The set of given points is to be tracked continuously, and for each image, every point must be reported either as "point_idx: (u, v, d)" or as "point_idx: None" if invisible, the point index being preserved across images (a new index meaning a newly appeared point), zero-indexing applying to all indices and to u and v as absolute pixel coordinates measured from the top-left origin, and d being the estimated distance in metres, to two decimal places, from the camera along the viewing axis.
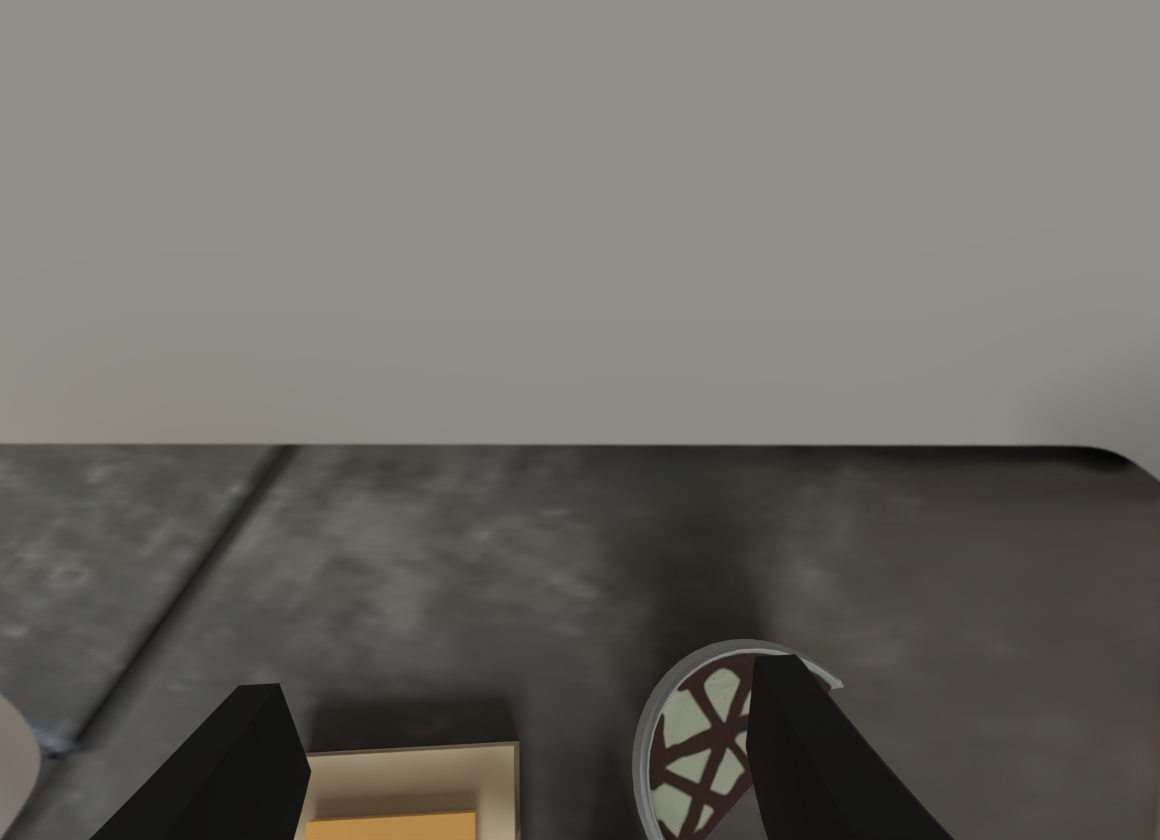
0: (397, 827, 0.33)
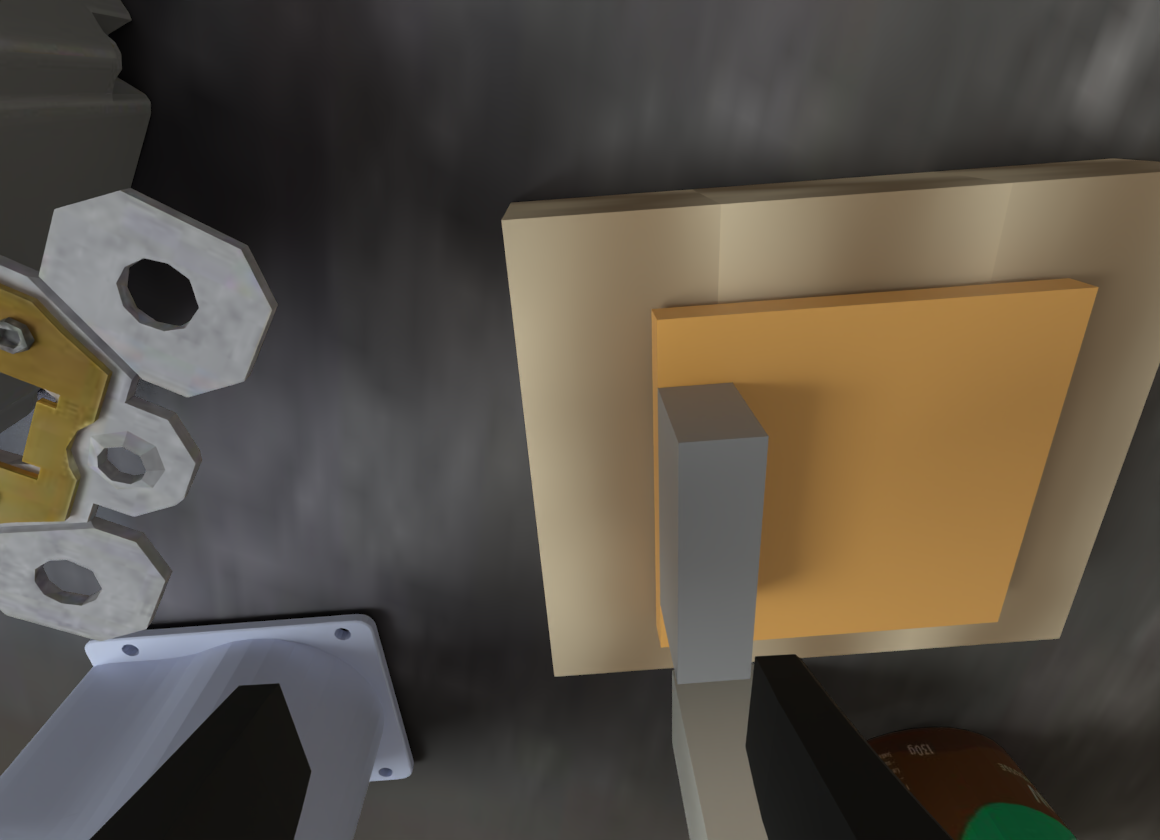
0: (1016, 492, 0.15)
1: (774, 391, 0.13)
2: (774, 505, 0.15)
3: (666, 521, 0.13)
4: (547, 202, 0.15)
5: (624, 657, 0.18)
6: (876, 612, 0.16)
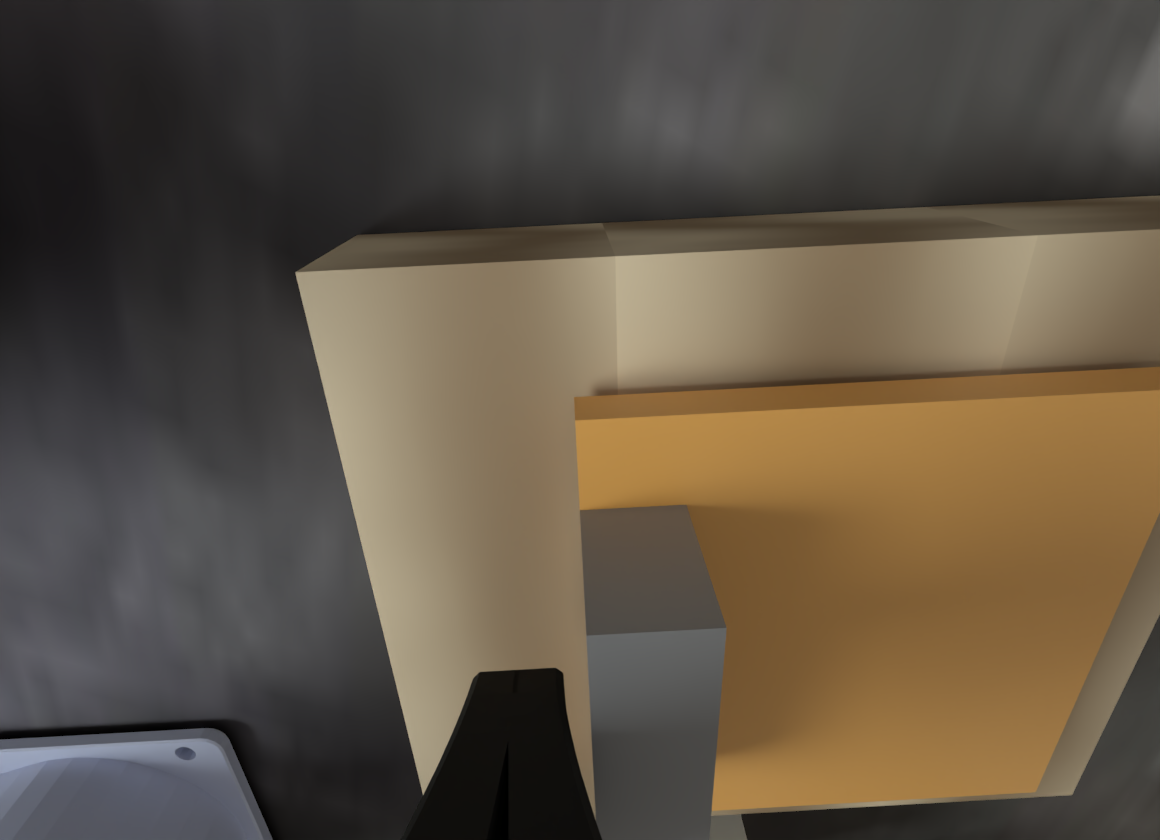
0: (1073, 645, 0.11)
1: (746, 516, 0.09)
2: (745, 657, 0.11)
3: (589, 697, 0.09)
4: (400, 237, 0.11)
5: None
6: (879, 781, 0.12)
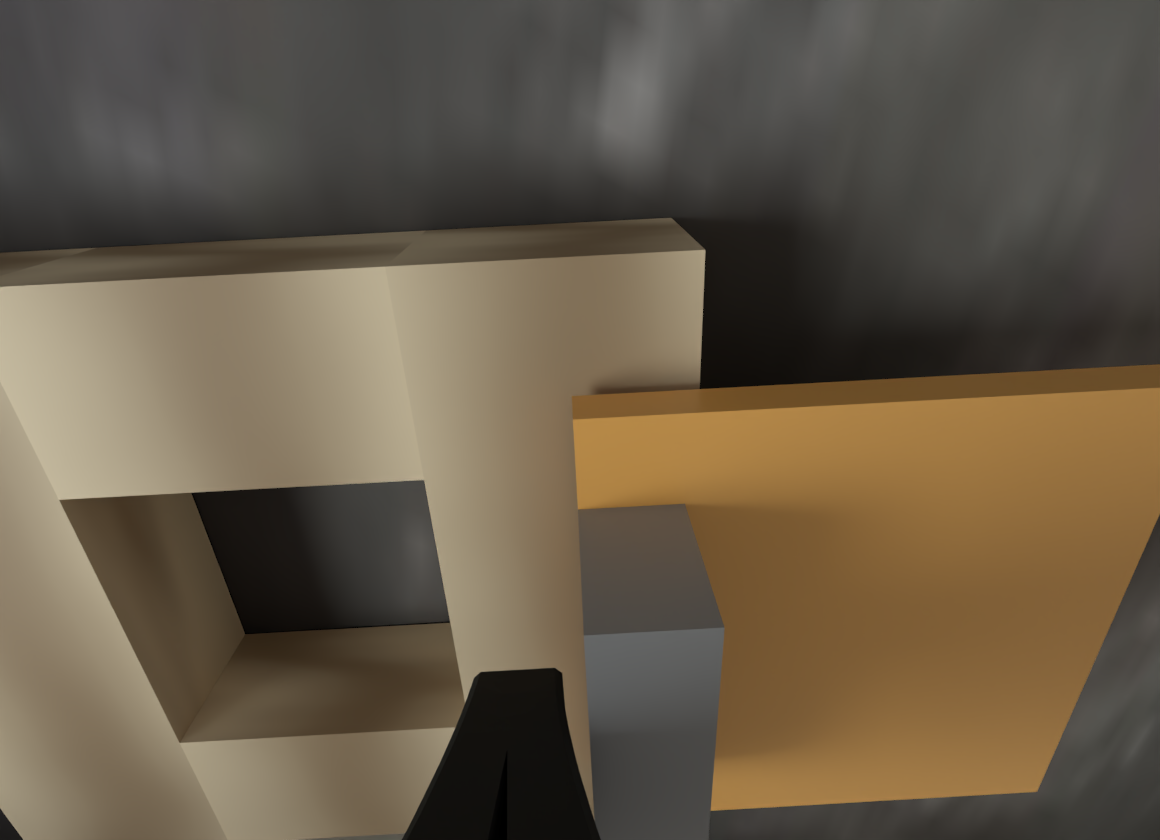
0: (1074, 644, 0.11)
1: (744, 515, 0.09)
2: (745, 655, 0.11)
3: None
4: None
5: (115, 835, 0.14)
6: (879, 780, 0.12)
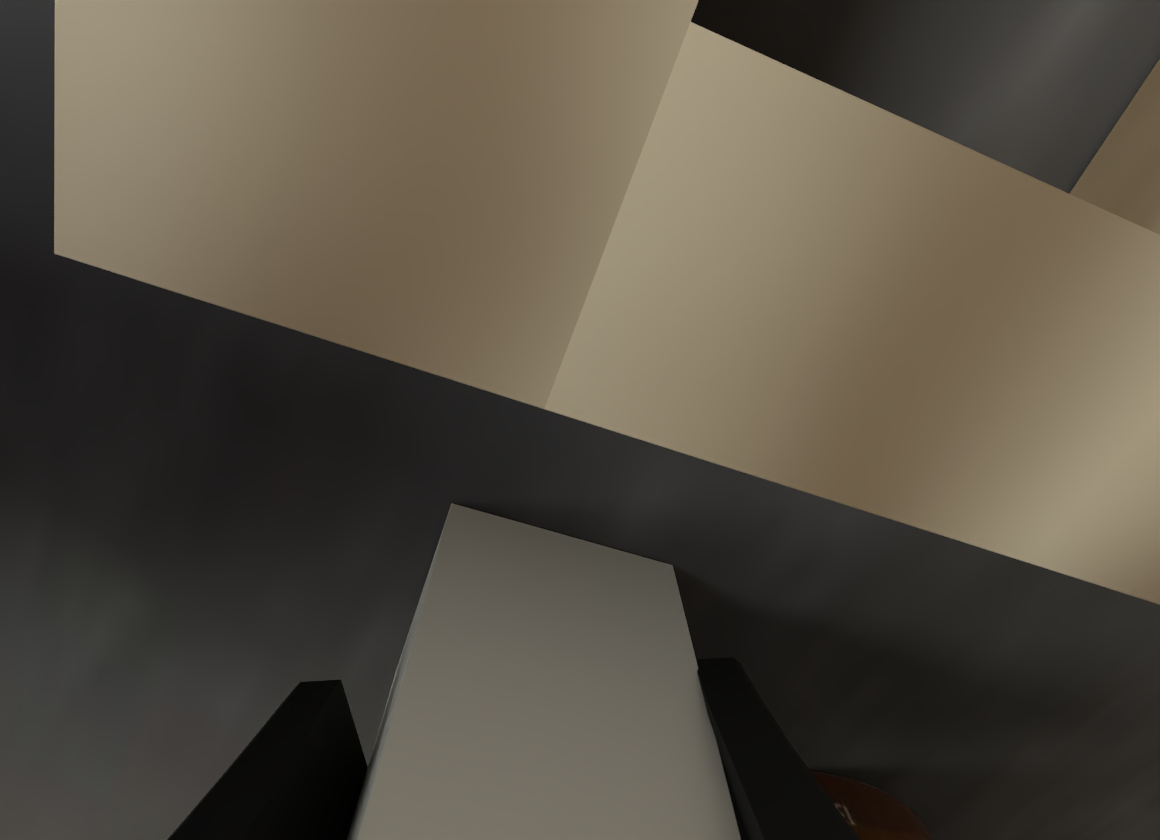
0: None
1: None
2: None
3: None
4: None
5: (307, 275, 0.06)
6: None
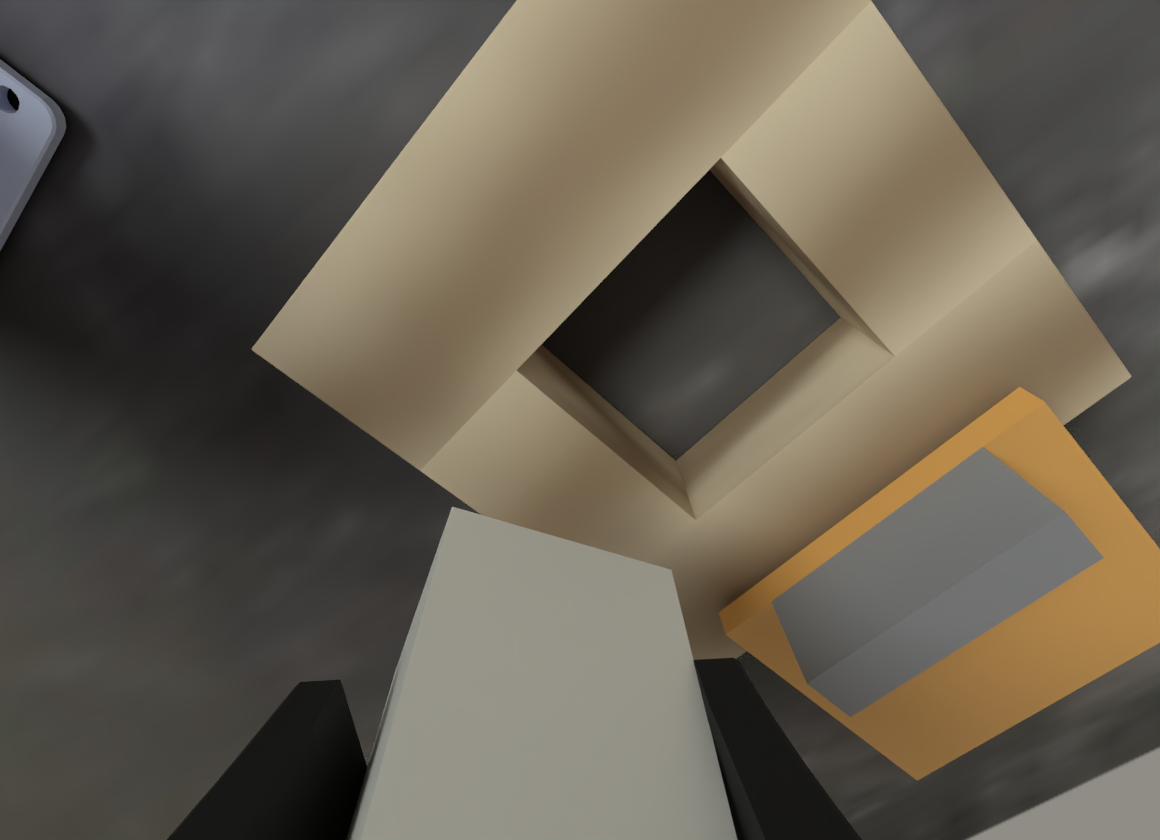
0: (1031, 702, 0.18)
1: None
2: None
3: (907, 549, 0.14)
4: None
5: (347, 392, 0.14)
6: (872, 720, 0.18)
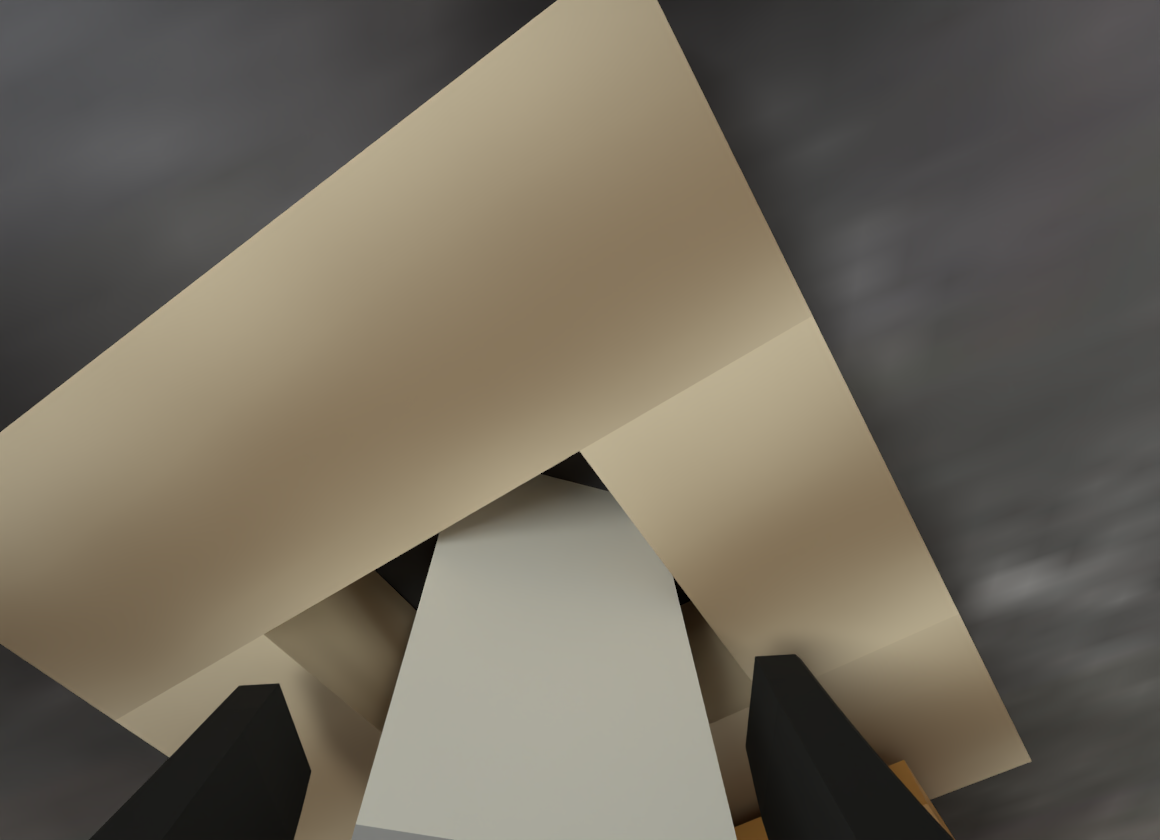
0: None
1: None
2: None
3: None
4: None
5: (9, 619, 0.10)
6: None
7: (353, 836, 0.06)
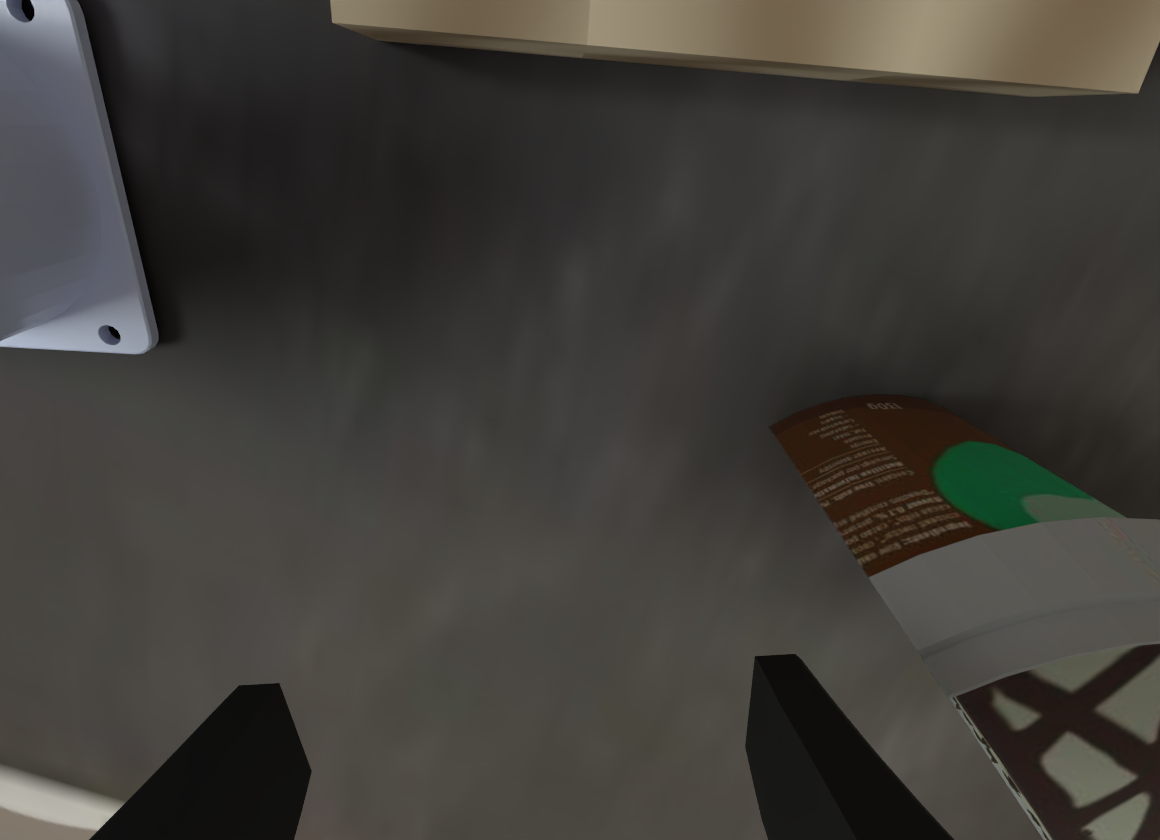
0: None
1: None
2: None
3: None
4: None
5: None
6: None
7: None
